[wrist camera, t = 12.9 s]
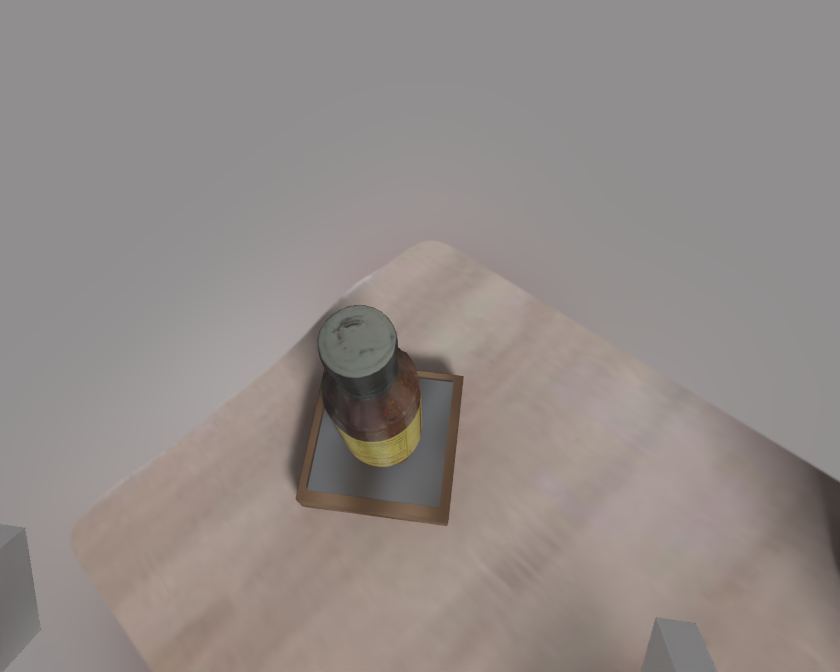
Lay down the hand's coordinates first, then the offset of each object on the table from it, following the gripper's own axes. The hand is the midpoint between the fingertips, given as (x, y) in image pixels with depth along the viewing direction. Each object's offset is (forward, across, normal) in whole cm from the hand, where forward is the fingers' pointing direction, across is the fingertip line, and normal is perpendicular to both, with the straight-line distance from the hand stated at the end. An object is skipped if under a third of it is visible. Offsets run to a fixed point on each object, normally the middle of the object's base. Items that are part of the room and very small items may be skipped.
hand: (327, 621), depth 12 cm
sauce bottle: (+32, -3, -13) cm, 35 cm away
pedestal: (+35, -3, -16) cm, 38 cm away
